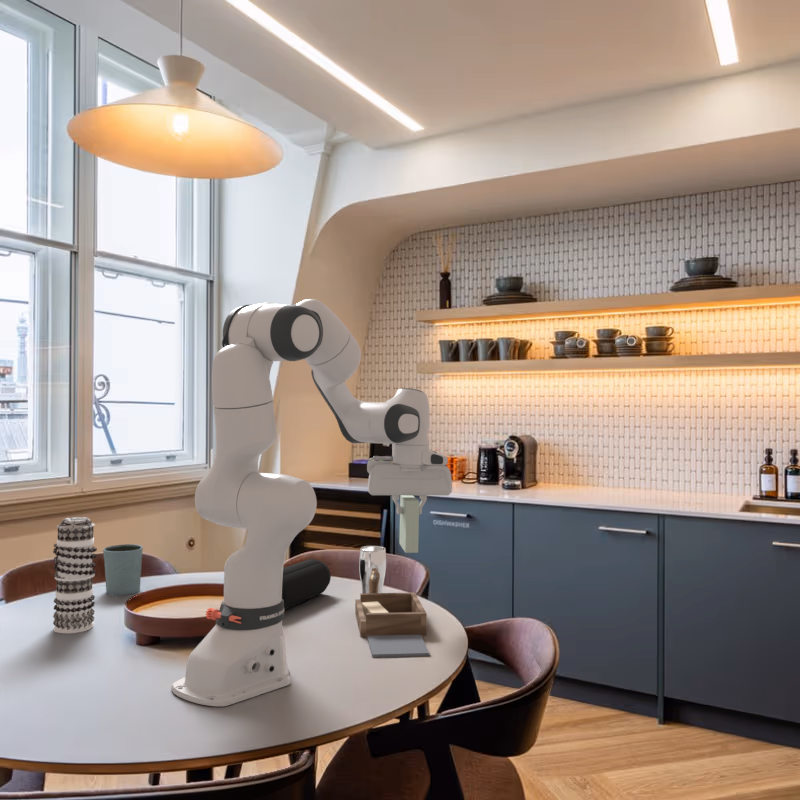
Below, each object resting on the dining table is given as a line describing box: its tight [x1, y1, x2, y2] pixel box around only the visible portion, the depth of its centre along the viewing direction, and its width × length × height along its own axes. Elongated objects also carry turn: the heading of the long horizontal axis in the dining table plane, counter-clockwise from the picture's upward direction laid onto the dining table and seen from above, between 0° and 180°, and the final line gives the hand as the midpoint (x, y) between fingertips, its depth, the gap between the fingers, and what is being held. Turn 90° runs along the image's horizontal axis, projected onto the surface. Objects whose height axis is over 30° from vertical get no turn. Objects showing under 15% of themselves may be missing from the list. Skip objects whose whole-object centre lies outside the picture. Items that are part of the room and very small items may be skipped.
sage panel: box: [398, 495, 420, 554], centre depth 172 cm, size 11×3×12 cm, turn 7°
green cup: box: [102, 543, 144, 597], centre depth 196 cm, size 10×10×12 cm
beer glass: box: [358, 545, 387, 593], centre depth 186 cm, size 7×7×15 cm
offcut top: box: [362, 601, 389, 616], centre depth 171 cm, size 11×4×2 cm, turn 18°
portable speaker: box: [282, 558, 332, 610], centre depth 187 cm, size 26×10×10 cm, turn 154°
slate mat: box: [366, 634, 430, 658], centre depth 155 cm, size 12×12×1 cm
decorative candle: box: [52, 516, 98, 635], centre depth 164 cm, size 9×9×25 cm
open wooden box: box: [354, 592, 428, 638], centre depth 171 cm, size 18×15×5 cm
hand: (409, 514), depth 172 cm, fingers closed on sage panel, 3 cm apart
